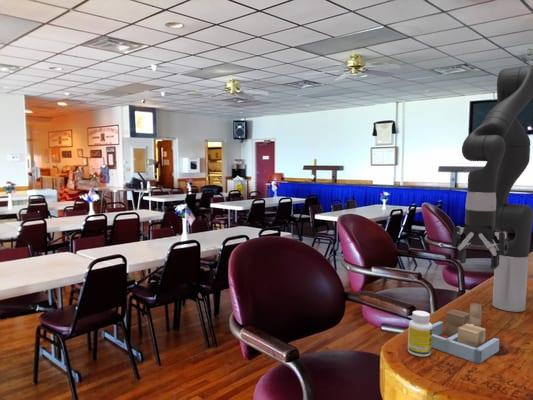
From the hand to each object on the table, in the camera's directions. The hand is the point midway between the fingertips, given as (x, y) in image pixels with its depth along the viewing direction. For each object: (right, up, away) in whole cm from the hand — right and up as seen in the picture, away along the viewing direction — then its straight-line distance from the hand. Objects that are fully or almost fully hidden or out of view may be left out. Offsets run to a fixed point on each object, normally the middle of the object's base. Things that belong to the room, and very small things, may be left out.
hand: (477, 265), depth 122 cm
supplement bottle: (-22, -19, -16) cm, 33 cm away
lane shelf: (-11, -18, -12) cm, 25 cm away
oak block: (-9, -19, -16) cm, 26 cm away
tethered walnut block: (-4, -17, -2) cm, 18 cm away
